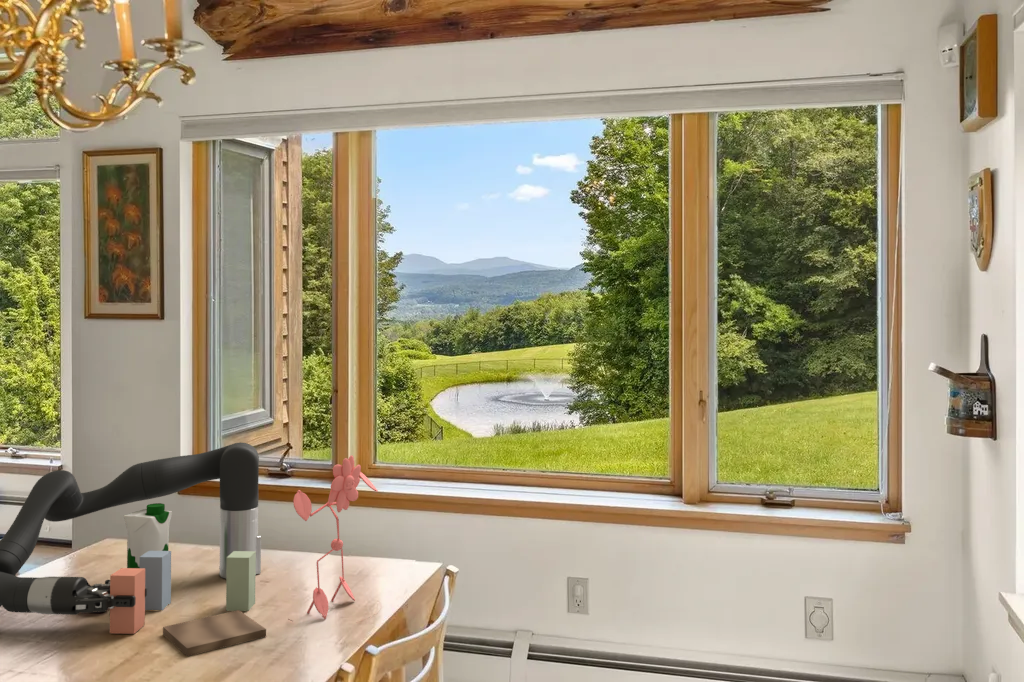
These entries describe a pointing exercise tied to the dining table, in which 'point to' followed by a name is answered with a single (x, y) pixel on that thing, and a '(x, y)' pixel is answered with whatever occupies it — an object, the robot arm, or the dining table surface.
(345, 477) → the figurine
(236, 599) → the olive block
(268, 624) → the dining table surface
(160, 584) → the blue grey block
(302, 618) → the dining table surface
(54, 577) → the robot arm
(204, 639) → the walnut board
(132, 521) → the milk carton
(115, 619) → the red block
